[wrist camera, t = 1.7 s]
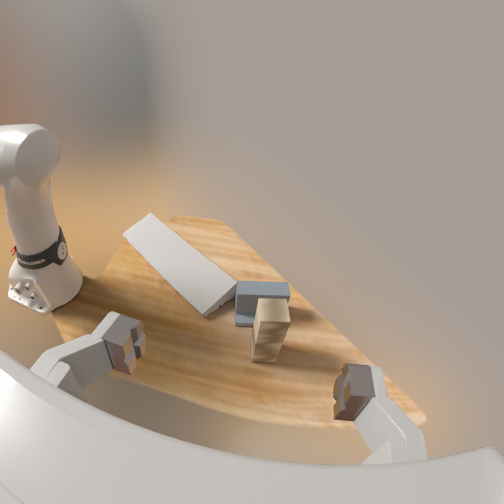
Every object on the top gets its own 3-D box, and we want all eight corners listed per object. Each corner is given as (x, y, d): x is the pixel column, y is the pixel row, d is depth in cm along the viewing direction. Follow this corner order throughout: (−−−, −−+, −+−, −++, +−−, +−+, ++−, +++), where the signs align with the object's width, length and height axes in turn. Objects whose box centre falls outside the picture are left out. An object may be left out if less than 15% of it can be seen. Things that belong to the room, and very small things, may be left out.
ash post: (251, 362, 49) (260, 321, 41) (250, 342, 53) (258, 298, 45) (275, 362, 50) (290, 321, 42) (273, 342, 53) (286, 298, 45)
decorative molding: (207, 324, 58) (240, 293, 63) (202, 314, 55) (237, 282, 59) (128, 245, 74) (155, 224, 79) (121, 234, 71) (150, 212, 75)
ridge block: (235, 325, 55) (237, 303, 51) (234, 295, 62) (237, 272, 57) (284, 326, 57) (292, 304, 52) (280, 297, 63) (286, 274, 58)
